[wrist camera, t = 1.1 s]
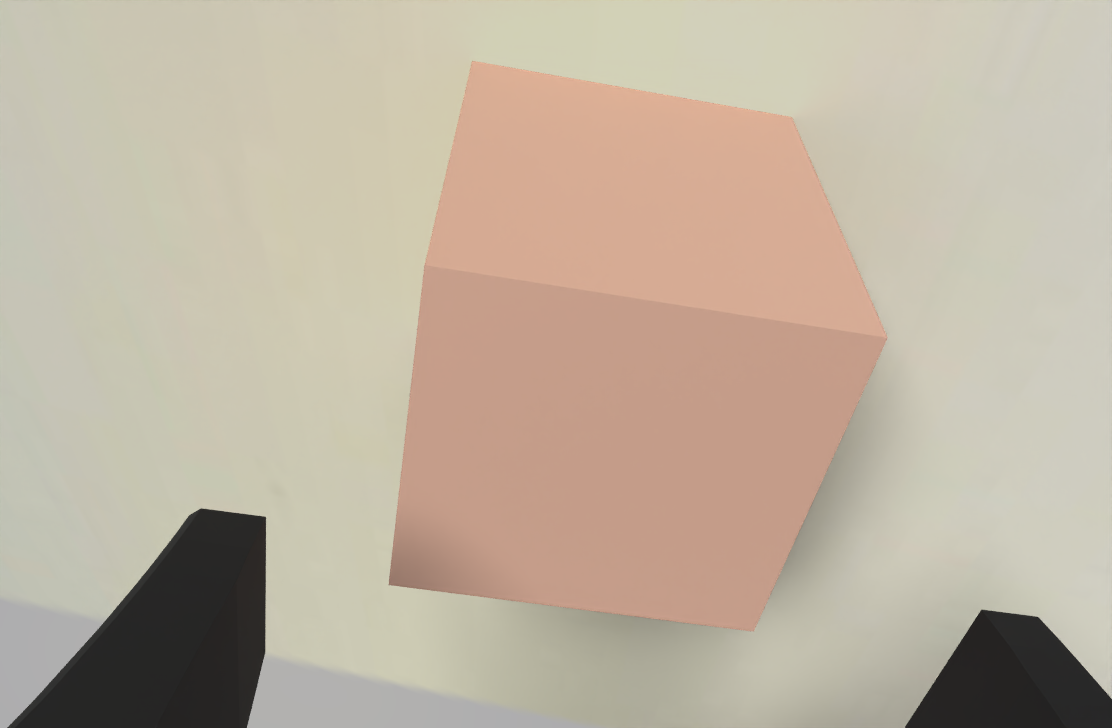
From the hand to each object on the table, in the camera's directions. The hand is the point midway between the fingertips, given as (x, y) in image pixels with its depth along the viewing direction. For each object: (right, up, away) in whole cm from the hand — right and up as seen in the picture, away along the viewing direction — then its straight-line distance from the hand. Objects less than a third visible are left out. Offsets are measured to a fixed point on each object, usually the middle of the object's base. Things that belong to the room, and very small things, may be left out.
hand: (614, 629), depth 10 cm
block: (0, +5, +7) cm, 8 cm away
